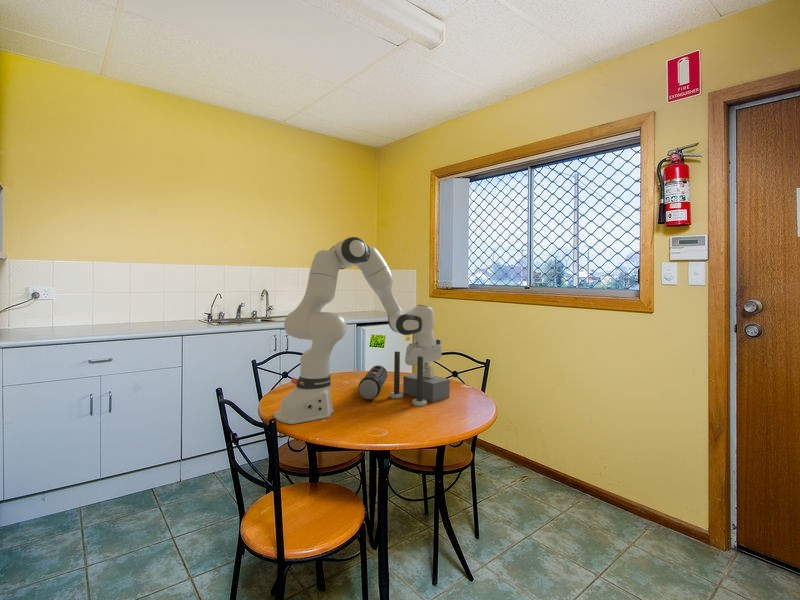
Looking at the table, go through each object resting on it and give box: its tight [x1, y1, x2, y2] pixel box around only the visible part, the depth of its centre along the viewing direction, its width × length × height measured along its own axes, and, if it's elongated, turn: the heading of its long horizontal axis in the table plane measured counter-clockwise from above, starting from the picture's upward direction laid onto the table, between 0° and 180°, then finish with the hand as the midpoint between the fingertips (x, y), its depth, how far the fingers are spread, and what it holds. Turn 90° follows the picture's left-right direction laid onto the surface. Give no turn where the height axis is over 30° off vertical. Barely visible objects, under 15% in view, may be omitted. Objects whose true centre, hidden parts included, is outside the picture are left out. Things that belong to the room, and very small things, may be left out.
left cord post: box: [389, 351, 404, 400], centre depth 183 cm, size 6×6×20 cm
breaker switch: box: [423, 365, 435, 378], centre depth 186 cm, size 2×5×5 cm, turn 44°
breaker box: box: [402, 372, 451, 403], centre depth 186 cm, size 11×18×8 cm, turn 44°
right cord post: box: [411, 356, 428, 407], centre depth 173 cm, size 6×6×20 cm
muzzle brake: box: [357, 364, 388, 400], centre depth 188 cm, size 10×28×10 cm, turn 174°
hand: (423, 372), depth 184 cm, fingers closed
